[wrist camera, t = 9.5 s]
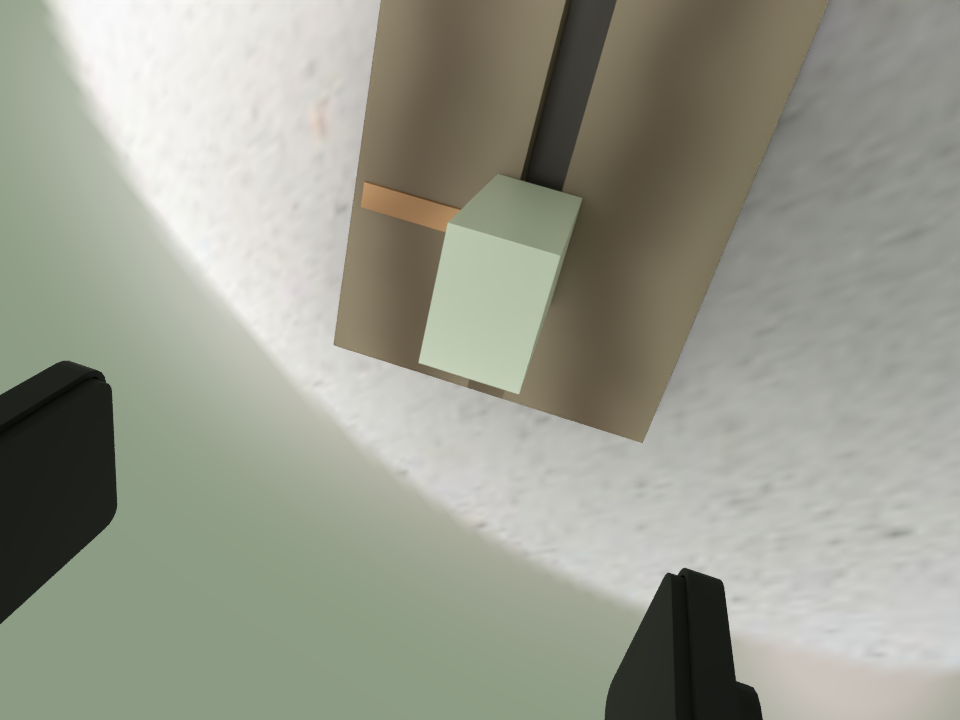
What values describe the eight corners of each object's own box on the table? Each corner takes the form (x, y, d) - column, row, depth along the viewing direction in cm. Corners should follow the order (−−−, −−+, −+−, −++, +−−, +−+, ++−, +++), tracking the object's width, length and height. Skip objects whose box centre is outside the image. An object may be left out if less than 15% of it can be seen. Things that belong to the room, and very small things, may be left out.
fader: (586, 188, 26) (560, 256, 18) (553, 295, 28) (519, 394, 20) (505, 165, 26) (447, 222, 18) (479, 272, 28) (418, 362, 21)
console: (918, -264, 20) (962, -312, 17) (643, 407, 31) (642, 445, 28) (464, -360, 21) (436, -420, 18) (358, 319, 32) (331, 346, 30)
